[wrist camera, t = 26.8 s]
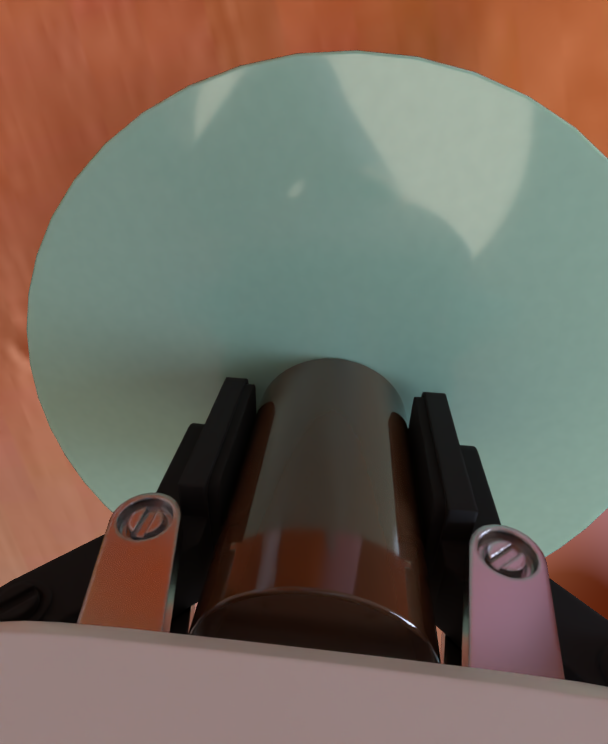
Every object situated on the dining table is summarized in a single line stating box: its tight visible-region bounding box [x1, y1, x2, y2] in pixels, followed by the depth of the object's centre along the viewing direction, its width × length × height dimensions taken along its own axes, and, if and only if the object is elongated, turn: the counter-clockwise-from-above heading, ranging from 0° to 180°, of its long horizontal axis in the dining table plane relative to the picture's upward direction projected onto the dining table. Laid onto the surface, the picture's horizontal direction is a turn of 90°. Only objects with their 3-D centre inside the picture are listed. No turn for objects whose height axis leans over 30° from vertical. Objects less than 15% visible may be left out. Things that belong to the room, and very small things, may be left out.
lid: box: [27, 50, 608, 664], centre depth 11 cm, size 17×17×8 cm
